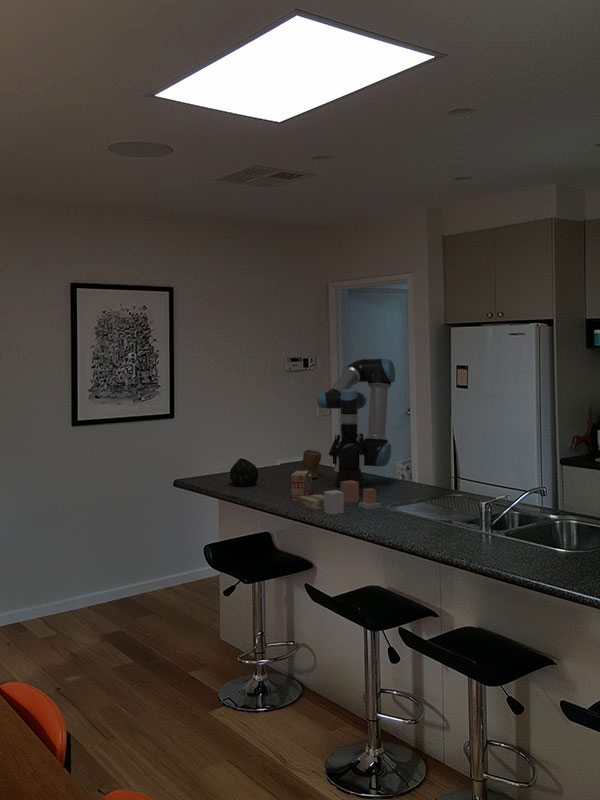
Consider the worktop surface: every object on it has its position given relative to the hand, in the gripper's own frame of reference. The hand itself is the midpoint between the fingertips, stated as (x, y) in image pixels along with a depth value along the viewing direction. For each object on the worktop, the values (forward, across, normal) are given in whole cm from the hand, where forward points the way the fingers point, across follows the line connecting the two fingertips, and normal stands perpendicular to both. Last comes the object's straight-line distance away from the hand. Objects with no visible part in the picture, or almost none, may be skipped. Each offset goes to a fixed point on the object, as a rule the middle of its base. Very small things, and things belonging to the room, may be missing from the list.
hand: (349, 470), depth 342 cm
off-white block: (+15, +19, +17) cm, 29 cm away
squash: (+14, +23, -63) cm, 69 cm away
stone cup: (+14, -17, -66) cm, 70 cm away
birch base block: (+14, +19, +2) cm, 24 cm away
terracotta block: (+14, 0, 0) cm, 14 cm away
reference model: (+14, 0, +16) cm, 21 cm away
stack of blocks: (+15, +12, -22) cm, 29 cm away
